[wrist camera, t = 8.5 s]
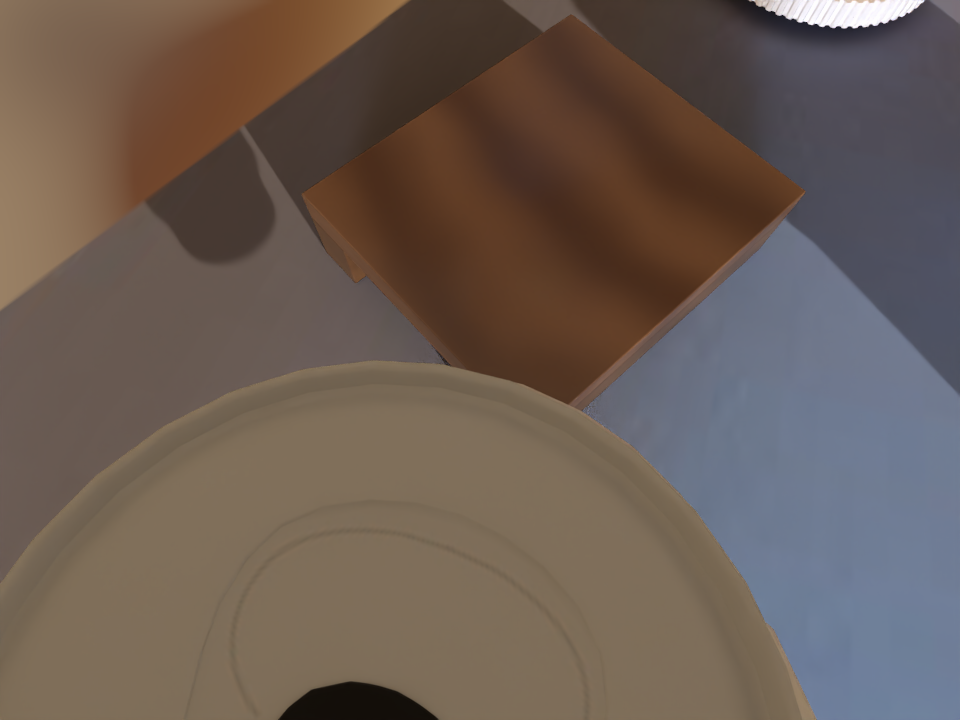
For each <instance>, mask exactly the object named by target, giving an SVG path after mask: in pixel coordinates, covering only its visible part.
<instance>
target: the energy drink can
mask: <svg viewBox="0 0 960 720" xmlns="http://www.w3.org/2000/svg"><path fill="white" fill-rule="evenodd" d="M0 720H802V717H801V714H800V710H799V707H798V704H797V700H796V697H795V693H794V690H793V687H792V683H791V680H790V676H789V673H788V670H787V667H786V665H785V662H784V660H783V658H782V656H781V654H780V652H779V650H778V648H777V646H776V644H775V642H774V639H773V637H772V635H771V633H770V631H769V629H768V627H767V625H766V623H765V621H764V619H763V617H762V614H761V612H760V610H759V608H758V606H757V604H756V602H755V600H754V598H753V596H752V594H751V592H750V589H749V587H748V585H747V583H746V581H745V580H744V578H743V577H742V576H741V574H740V573H739V571H738V570H737V569H736V567H735V566H734V564H733V563H732V561H731V560H730V559H729V557H728V556H727V554H726V553H725V552H724V550H723V549H722V547H721V546H720V545H719V543H718V542H717V540H716V539H715V537H714V536H713V535H712V533H711V532H710V530H709V529H708V528H707V526H706V525H705V523H704V522H703V520H702V519H701V518H700V516H699V515H698V513H697V512H696V511H695V510H694V509H693V508H692V507H691V506H690V505H689V504H688V503H687V502H686V501H685V500H684V498H683V497H682V495H681V494H680V493H679V492H678V491H677V490H676V489H675V488H674V487H673V486H672V485H671V484H670V483H669V482H668V481H667V480H666V479H665V478H664V477H663V476H662V475H661V474H660V473H659V472H658V471H657V470H656V469H655V468H654V467H653V466H652V465H651V464H650V463H649V462H648V461H647V460H646V459H645V458H644V457H643V456H642V455H641V454H640V453H639V452H638V451H637V450H636V449H635V448H634V447H632V446H631V445H629V444H628V443H627V442H625V441H624V440H622V439H621V438H619V437H618V436H616V435H615V434H614V433H612V432H611V431H609V430H608V429H606V428H605V427H603V426H602V425H601V424H599V423H598V422H596V421H595V420H593V419H592V418H590V417H589V416H588V415H586V414H585V413H583V412H582V411H580V410H578V409H576V408H574V407H572V406H570V405H567V404H565V403H563V402H561V401H559V400H556V399H554V398H552V397H550V396H548V395H545V394H543V393H541V392H539V391H536V390H534V389H532V388H530V387H528V386H525V385H523V384H519V383H515V382H512V381H509V380H505V379H501V378H497V377H493V376H489V375H484V374H480V373H476V372H472V371H468V370H464V369H460V368H456V367H451V366H447V365H443V364H428V363H410V362H392V361H373V360H372V361H364V362H357V363H349V364H341V365H333V366H326V367H318V368H310V369H303V370H299V371H296V372H293V373H289V374H286V375H283V376H280V377H277V378H273V379H270V380H267V381H264V382H261V383H257V384H254V385H251V386H248V387H245V388H241V389H238V390H235V391H232V392H230V393H228V394H226V395H224V396H222V397H220V398H218V399H216V400H214V401H212V402H210V403H208V404H207V405H205V406H203V407H201V408H199V409H197V410H195V411H193V412H191V413H189V414H187V415H185V416H183V417H181V418H179V419H177V420H175V421H173V422H171V423H169V424H167V425H165V426H164V427H162V428H160V429H159V430H158V431H156V432H155V433H154V434H152V435H151V436H150V437H148V438H147V439H146V440H144V441H143V442H141V443H140V444H139V445H137V446H136V447H135V448H133V449H132V450H131V451H129V452H128V453H126V454H125V455H124V456H122V457H121V458H120V459H118V460H117V461H116V462H114V463H113V464H111V465H110V466H109V467H107V468H106V469H105V470H103V471H102V472H101V473H99V474H98V475H96V476H95V477H94V478H93V479H92V480H91V481H90V482H89V483H88V484H87V485H86V486H85V487H84V488H83V489H82V490H81V491H80V492H79V493H78V494H77V495H76V496H75V497H74V498H73V499H72V500H71V501H70V502H69V503H68V504H67V505H66V506H65V508H64V509H63V510H62V511H61V512H60V513H59V514H58V515H57V516H56V517H55V518H54V519H53V520H52V521H51V522H50V523H49V524H48V525H47V526H46V527H45V528H44V529H43V530H42V531H41V532H40V533H39V534H38V535H37V536H36V537H35V538H34V539H33V540H32V541H31V543H30V544H29V546H28V547H27V548H26V550H25V551H24V552H23V554H22V555H21V556H20V558H19V559H18V561H17V562H16V563H15V565H14V566H13V567H12V569H11V570H10V571H9V573H8V574H7V576H6V577H5V578H4V580H3V581H2V582H1V584H0Z"/></svg>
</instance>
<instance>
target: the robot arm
mask: <svg viewBox="0 0 960 720" xmlns="http://www.w3.org/2000/svg"><path fill="white" fill-rule="evenodd" d="M766 625H767V627H768V629H769V631H770V633H771V635H772V637H773V639H774V642H775V644H776V646H777V648H778V650H779V652H780V654H781V656H782V658H783V660H784V662H785V665H786V667H787V670H788V673H789V676H790V680H791V683H792V687H793V690H794V693H795V697H796V700H797V704H798V707H799V710H800V714H801V717H802V720H817V719H816V717H815V715H814V713H813V711H812V709H811V707H810V704H809V702H808V700H807V698H806V696H805V694H804V692H803V690H802V688H801V686H800V684H799V681H798V679H797V677H796V675H795V673H794V671H793V669H792V667H791V665H790V663H789V661H788V658H787V656H786V654H785V652H784V650H783V648H782V646H781V644H780V642H779V640H778V638H777V635H776V633H775V631H774V629H773V628H772V627H771V626H769V625H768V624H767V623H766Z"/></svg>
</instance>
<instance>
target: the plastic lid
mask: <svg viewBox="0 0 960 720" xmlns="http://www.w3.org/2000/svg"><path fill="white" fill-rule="evenodd" d="M749 1H754V2H756V5H757V6H759V7H760V6H763V7H765V10H767V11H774V12H775V14H776V15H779V16H780V15H784V16H786V18H787V19H792V18H793V19H796V20H797V22H801V23H802V22H803V21H804V22H807V23H808V24H809V25H813V24H818V25H819V26H821V27H824V26H825V25H829V26H830V27H831V28H836V26H841V28H847V27H848V26H851V27H852V28H858V26H863V27H868V26H869V24H872V25H874V26H876V25H878V24H879V23H880V22H882V23H887V22H888V21H889V20H890V19H891V20H893V21H894V20H896V19H897V18H898V16H900V17H903V16H905V14H906V13H907V12H908V13H910V12H912V11H913V9H914V8H917V7H918V6H919V5H920V4H921V3H923V2H924V1H925V0H749Z"/></svg>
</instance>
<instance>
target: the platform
mask: <svg viewBox="0 0 960 720" xmlns="http://www.w3.org/2000/svg"><path fill="white" fill-rule="evenodd" d="M805 192H806V191H805V190H803V189H802V188H801V187H799V186H798V185H797V184H796V183H794V182H793V181H792V180H790V179H789V178H788V177H786V176H785V175H784V174H782V173H781V172H780V171H778V170H777V169H776V168H774V167H773V166H772V165H770V164H769V163H768V162H766V161H765V160H764V159H762V158H761V157H760V156H758V155H757V154H756V153H754V152H753V151H752V150H751V149H749V148H748V147H747V146H745V145H744V144H743V143H741V142H740V141H739V140H737V139H736V138H735V137H733V136H732V135H731V134H729V133H728V132H727V131H725V130H724V129H723V128H721V127H720V126H719V125H717V124H716V123H715V122H713V121H712V120H711V119H709V118H708V117H707V116H706V115H704V114H703V113H702V112H700V111H699V110H698V109H696V108H695V107H694V106H692V105H691V104H690V103H688V102H687V101H686V100H684V99H683V98H682V97H680V96H679V95H678V94H676V93H675V92H674V91H672V90H671V89H670V88H668V87H667V86H666V85H664V84H663V83H662V82H660V81H659V80H658V79H657V78H655V77H654V76H653V75H651V74H650V73H649V72H647V71H646V70H645V69H643V68H642V67H641V66H639V65H638V64H637V63H635V62H634V61H633V60H631V59H630V58H629V57H627V56H626V55H625V54H623V53H622V52H621V51H619V50H618V49H617V48H615V47H614V46H613V45H612V44H610V43H609V42H608V41H606V40H605V39H604V38H602V37H601V36H600V35H598V34H597V33H596V32H594V31H593V30H592V29H590V28H589V27H588V26H586V25H585V24H584V23H582V22H581V21H580V20H578V19H577V18H576V17H574V16H573V15H569V16H568V17H566V18H565V19H563V20H562V21H560V22H559V23H557V24H556V25H554V26H553V27H551V28H550V29H548V30H547V31H545V32H544V33H542V34H541V35H539V36H538V37H536V38H535V39H533V40H532V41H530V42H529V43H527V44H526V45H524V46H523V47H521V48H520V49H518V50H517V51H515V52H514V53H512V54H511V55H509V56H508V57H506V58H505V59H503V60H502V61H500V62H499V63H497V64H496V65H494V66H493V67H491V68H490V69H488V70H487V71H485V72H484V73H482V74H481V75H479V76H478V77H476V78H475V79H473V80H472V81H470V82H469V83H467V84H466V85H464V86H463V87H461V88H460V89H458V90H457V91H455V92H454V93H452V94H451V95H449V96H448V97H446V98H445V99H443V100H442V101H440V102H439V103H437V104H436V105H434V106H433V107H431V108H430V109H428V110H426V111H425V112H423V113H422V114H420V115H419V116H417V117H416V118H414V119H413V120H411V121H410V122H408V123H407V124H405V125H404V126H402V127H401V128H399V129H398V130H396V131H395V132H393V133H392V134H390V135H389V136H387V137H386V138H384V139H383V140H381V141H380V142H378V143H377V144H375V145H374V146H372V147H371V148H369V149H368V150H366V151H365V152H363V153H362V154H360V155H359V156H357V157H356V158H354V159H353V160H351V161H350V162H348V163H347V164H345V165H344V166H342V167H341V168H339V169H338V170H336V171H335V172H333V173H332V174H330V175H329V176H327V177H326V178H324V179H323V180H321V181H320V182H318V183H317V184H315V185H314V186H312V187H311V188H309V189H308V190H306V191H305V192H303V193H302V197H303V199H304V201H305V204H306V206H307V208H308V211H309V213H310V215H311V217H312V220H313V222H314V224H315V226H316V229H317V231H318V233H319V236H320V238H321V240H322V243H323V245H324V247H325V250H326V252H327V253H328V254H329V255H330V256H331V257H332V258H333V260H334V261H335V262H336V263H337V264H338V265H339V266H340V267H341V268H342V269H343V270H344V271H345V272H346V274H347V275H348V276H349V277H350V278H351V279H352V280H353V281H354V282H355V283H357V282H358V281H360V280H361V279H362V278H364V277H365V276H366V275H367V276H368V278H369V279H370V280H371V281H372V282H373V283H374V284H375V285H376V286H377V287H378V288H379V289H380V290H381V291H382V292H383V294H384V295H385V296H386V297H387V298H388V299H389V300H390V301H391V302H392V303H393V304H394V305H395V306H396V307H397V308H398V309H399V311H400V312H401V313H402V314H403V315H404V316H405V317H406V318H407V319H408V320H409V321H410V322H411V323H412V324H413V325H414V327H415V328H416V329H417V330H418V331H419V332H420V333H421V334H422V335H423V336H424V337H425V338H426V339H427V340H428V341H429V342H430V344H431V345H432V346H433V347H434V348H435V349H436V350H437V351H438V352H439V353H440V354H441V355H442V356H443V357H444V358H445V360H446V361H447V362H448V363H449V364H450V365H451V366H452V367H456V368H460V369H464V370H468V371H472V372H476V373H480V374H484V375H489V376H493V377H497V378H501V379H505V380H509V381H512V382H515V383H519V384H523V385H525V386H528V387H530V388H532V389H534V390H536V391H539V392H541V393H543V394H545V395H548V396H550V397H552V398H554V399H556V400H559V401H561V402H563V403H565V404H567V405H570V406H572V407H574V408H576V409H578V410H580V411H582V410H583V409H584V408H585V407H587V406H588V405H589V404H590V403H591V402H592V401H593V400H594V399H595V398H596V397H597V396H599V395H600V394H601V393H602V392H603V391H604V390H605V389H606V388H607V387H608V386H610V385H611V384H612V383H613V382H614V381H615V380H616V379H617V378H618V377H619V376H621V375H622V374H623V373H624V372H625V371H626V370H627V369H628V368H629V367H630V366H632V365H633V364H634V363H635V362H636V361H637V360H638V359H639V358H640V357H641V356H642V355H644V354H645V353H646V352H647V351H648V350H649V349H650V348H651V347H652V346H653V345H655V344H656V343H657V342H658V341H659V340H660V339H661V338H662V337H663V336H664V335H666V334H667V333H668V332H669V331H670V330H671V329H672V328H673V327H674V326H675V325H677V324H678V323H679V322H680V321H681V320H682V319H683V318H684V317H685V316H686V315H687V314H689V313H690V312H691V311H692V310H693V309H694V308H695V307H696V306H697V305H698V304H700V303H701V302H702V301H703V300H704V299H705V298H706V297H707V296H708V295H709V294H711V293H712V292H713V291H714V290H715V289H716V288H717V287H718V286H719V285H720V284H722V283H723V282H724V281H725V280H726V279H727V278H728V277H729V276H730V275H731V274H732V273H734V272H735V271H736V270H737V269H738V268H739V267H740V266H741V265H742V264H743V263H745V262H746V261H747V260H748V259H749V258H750V257H751V256H752V255H753V254H754V253H756V252H757V251H758V250H759V249H760V248H761V246H762V245H763V244H764V243H765V241H766V240H767V239H768V238H769V237H770V235H771V234H772V233H773V232H774V230H775V229H776V228H777V227H778V225H779V224H780V223H781V222H782V221H783V219H784V218H785V217H786V215H787V214H788V213H789V212H790V211H791V210H792V208H793V207H794V206H795V205H796V204H797V202H798V201H799V200H800V199H801V197H802V196H803V195H804V194H805Z"/></svg>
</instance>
